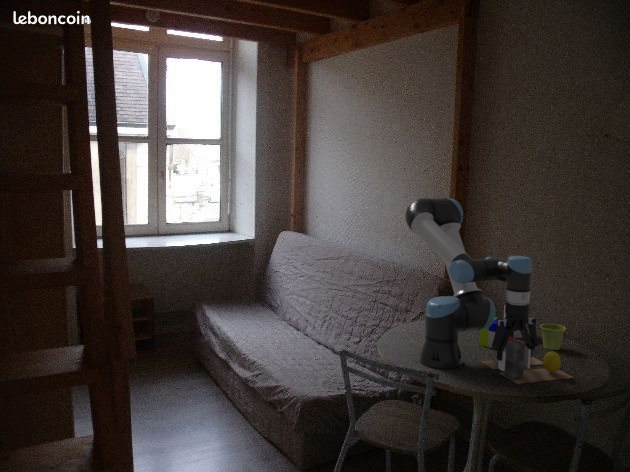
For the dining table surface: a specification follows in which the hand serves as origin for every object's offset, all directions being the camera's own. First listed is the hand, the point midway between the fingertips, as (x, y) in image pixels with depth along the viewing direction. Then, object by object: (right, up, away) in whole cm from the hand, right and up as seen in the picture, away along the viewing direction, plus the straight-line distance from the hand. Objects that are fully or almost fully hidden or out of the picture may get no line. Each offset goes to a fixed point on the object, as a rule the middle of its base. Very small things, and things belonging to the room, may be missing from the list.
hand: (513, 368), depth 196 cm
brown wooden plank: (+5, -2, +15) cm, 16 cm away
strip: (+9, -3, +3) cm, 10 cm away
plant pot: (+27, 0, +34) cm, 43 cm away
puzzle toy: (+6, +1, +37) cm, 38 cm away
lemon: (+14, -3, +5) cm, 15 cm away
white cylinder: (+18, +2, +52) cm, 55 cm away
